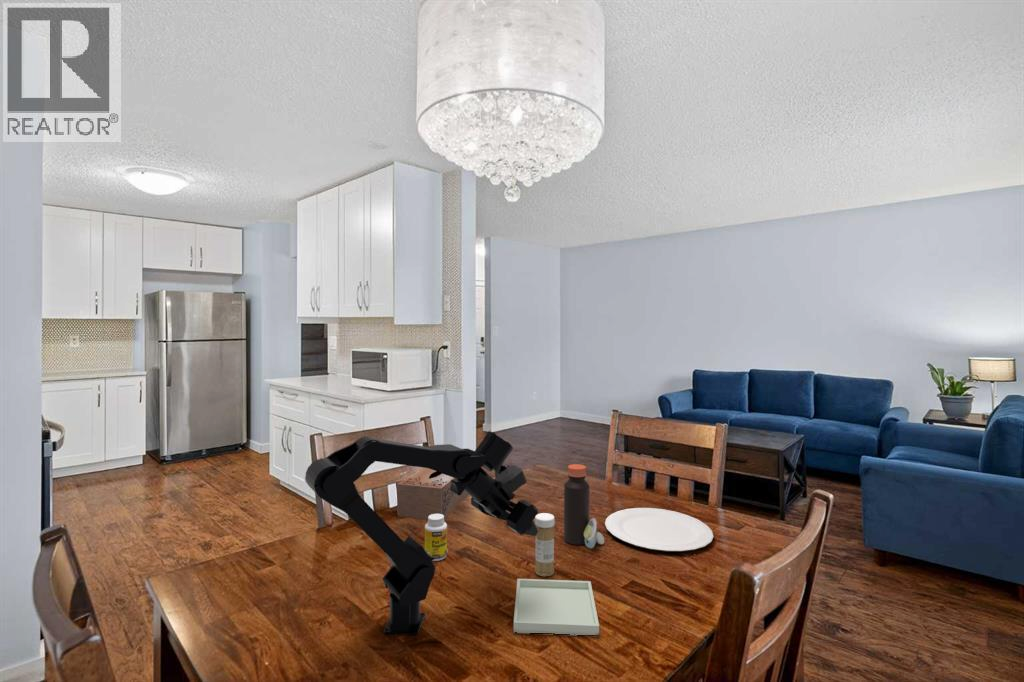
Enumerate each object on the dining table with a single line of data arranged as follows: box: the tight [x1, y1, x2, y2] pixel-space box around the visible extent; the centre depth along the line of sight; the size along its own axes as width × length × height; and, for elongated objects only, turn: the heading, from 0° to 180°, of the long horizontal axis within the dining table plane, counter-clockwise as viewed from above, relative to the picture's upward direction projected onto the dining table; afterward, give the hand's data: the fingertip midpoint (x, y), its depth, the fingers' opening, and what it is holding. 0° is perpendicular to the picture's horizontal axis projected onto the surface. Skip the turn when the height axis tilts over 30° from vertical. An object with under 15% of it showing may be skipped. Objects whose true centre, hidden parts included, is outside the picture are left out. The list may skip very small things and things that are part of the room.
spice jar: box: [534, 512, 556, 578], centre depth 115 cm, size 5×5×13 cm
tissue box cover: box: [396, 467, 470, 520], centre depth 159 cm, size 26×14×10 cm, turn 165°
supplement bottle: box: [424, 514, 448, 562], centre depth 122 cm, size 6×6×10 cm
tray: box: [513, 578, 600, 636], centre depth 100 cm, size 16×16×2 cm
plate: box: [604, 507, 715, 553], centre depth 138 cm, size 29×29×2 cm
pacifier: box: [584, 517, 605, 549], centre depth 129 cm, size 7×6×6 cm
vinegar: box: [563, 463, 590, 546], centre depth 132 cm, size 7×7×20 cm
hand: (523, 526), depth 111 cm, fingers open, 9 cm apart
